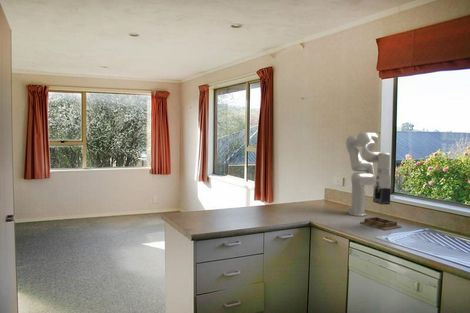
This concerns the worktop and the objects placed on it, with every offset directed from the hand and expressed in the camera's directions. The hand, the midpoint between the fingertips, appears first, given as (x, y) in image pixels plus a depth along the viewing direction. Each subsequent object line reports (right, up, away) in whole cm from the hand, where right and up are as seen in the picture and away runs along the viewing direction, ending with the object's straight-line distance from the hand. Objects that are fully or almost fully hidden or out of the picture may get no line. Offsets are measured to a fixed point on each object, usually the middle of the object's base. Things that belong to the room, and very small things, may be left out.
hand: (381, 197), depth 251 cm
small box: (0, -4, 0) cm, 4 cm away
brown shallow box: (-1, -18, +1) cm, 18 cm away
